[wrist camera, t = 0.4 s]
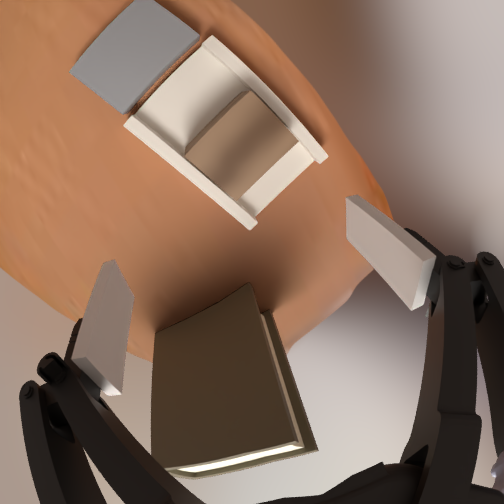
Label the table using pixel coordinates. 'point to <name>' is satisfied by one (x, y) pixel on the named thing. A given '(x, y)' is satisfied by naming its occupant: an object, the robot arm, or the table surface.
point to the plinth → (133, 53)
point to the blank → (240, 144)
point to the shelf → (204, 110)
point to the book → (225, 393)
